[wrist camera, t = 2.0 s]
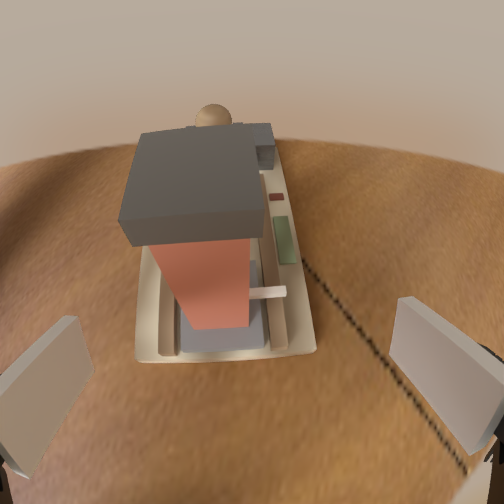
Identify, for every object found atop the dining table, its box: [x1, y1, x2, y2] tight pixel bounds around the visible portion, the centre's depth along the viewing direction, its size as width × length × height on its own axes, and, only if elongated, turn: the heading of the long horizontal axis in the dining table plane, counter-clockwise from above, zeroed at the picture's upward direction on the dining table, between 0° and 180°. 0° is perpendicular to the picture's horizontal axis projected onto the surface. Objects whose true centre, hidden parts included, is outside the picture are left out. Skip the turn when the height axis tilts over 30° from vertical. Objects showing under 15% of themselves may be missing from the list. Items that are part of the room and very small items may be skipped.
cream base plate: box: [134, 147, 317, 363], centre depth 27 cm, size 14×23×3 cm, turn 5°
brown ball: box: [196, 104, 232, 127], centre depth 27 cm, size 4×4×4 cm
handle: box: [118, 124, 287, 353], centre depth 17 cm, size 8×7×15 cm
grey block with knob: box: [186, 123, 275, 171], centre depth 30 cm, size 12×4×5 cm, turn 95°
